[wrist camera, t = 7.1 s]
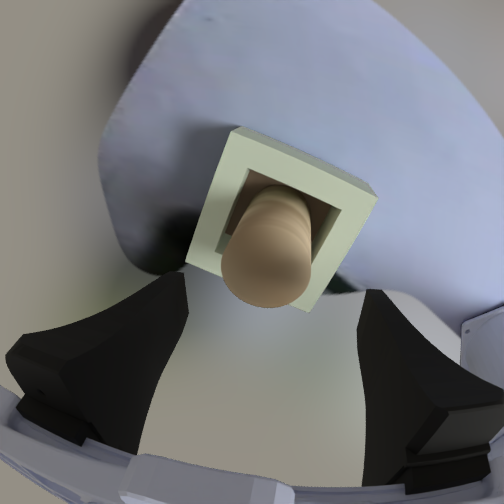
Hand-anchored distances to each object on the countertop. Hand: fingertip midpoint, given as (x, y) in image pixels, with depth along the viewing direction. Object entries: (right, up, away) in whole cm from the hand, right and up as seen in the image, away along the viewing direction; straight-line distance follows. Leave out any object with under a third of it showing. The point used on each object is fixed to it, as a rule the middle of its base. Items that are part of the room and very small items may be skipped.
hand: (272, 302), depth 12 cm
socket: (+1, +4, +8) cm, 9 cm away
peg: (+1, +4, +8) cm, 9 cm away
